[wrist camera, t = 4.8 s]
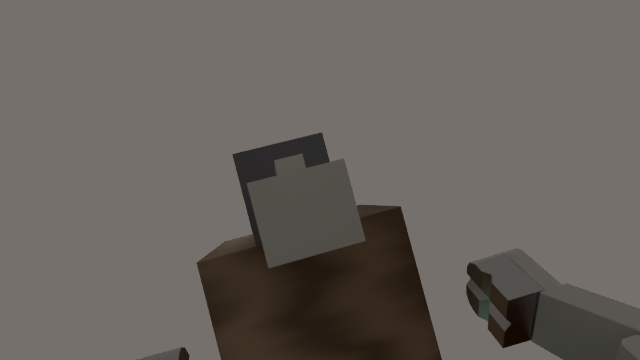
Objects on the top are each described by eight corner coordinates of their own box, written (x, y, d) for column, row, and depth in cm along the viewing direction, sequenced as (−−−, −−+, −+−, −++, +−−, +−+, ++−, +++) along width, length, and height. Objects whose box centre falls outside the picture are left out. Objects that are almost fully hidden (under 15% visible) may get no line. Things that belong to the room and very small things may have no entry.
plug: (239, 276, 13) (199, 119, 13) (261, 233, 30) (244, 166, 30) (392, 233, 13) (352, 84, 14) (327, 215, 31) (310, 150, 31)
